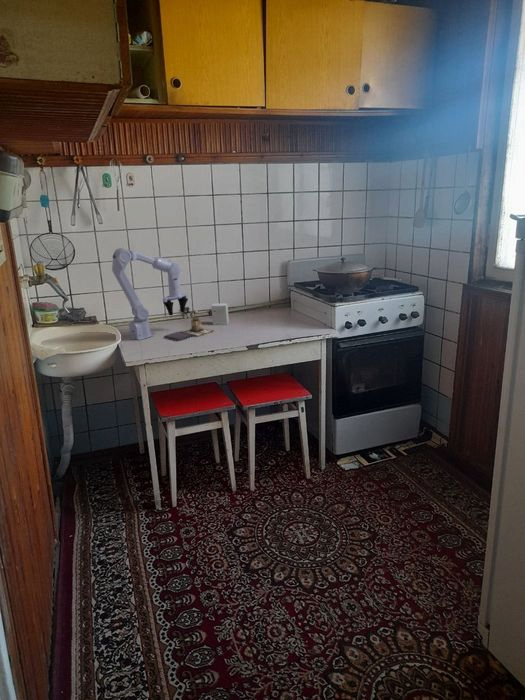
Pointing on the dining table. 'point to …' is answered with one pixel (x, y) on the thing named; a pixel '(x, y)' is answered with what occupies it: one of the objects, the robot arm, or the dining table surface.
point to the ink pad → (178, 336)
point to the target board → (197, 333)
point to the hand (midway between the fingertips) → (176, 313)
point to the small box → (220, 313)
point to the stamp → (196, 325)
